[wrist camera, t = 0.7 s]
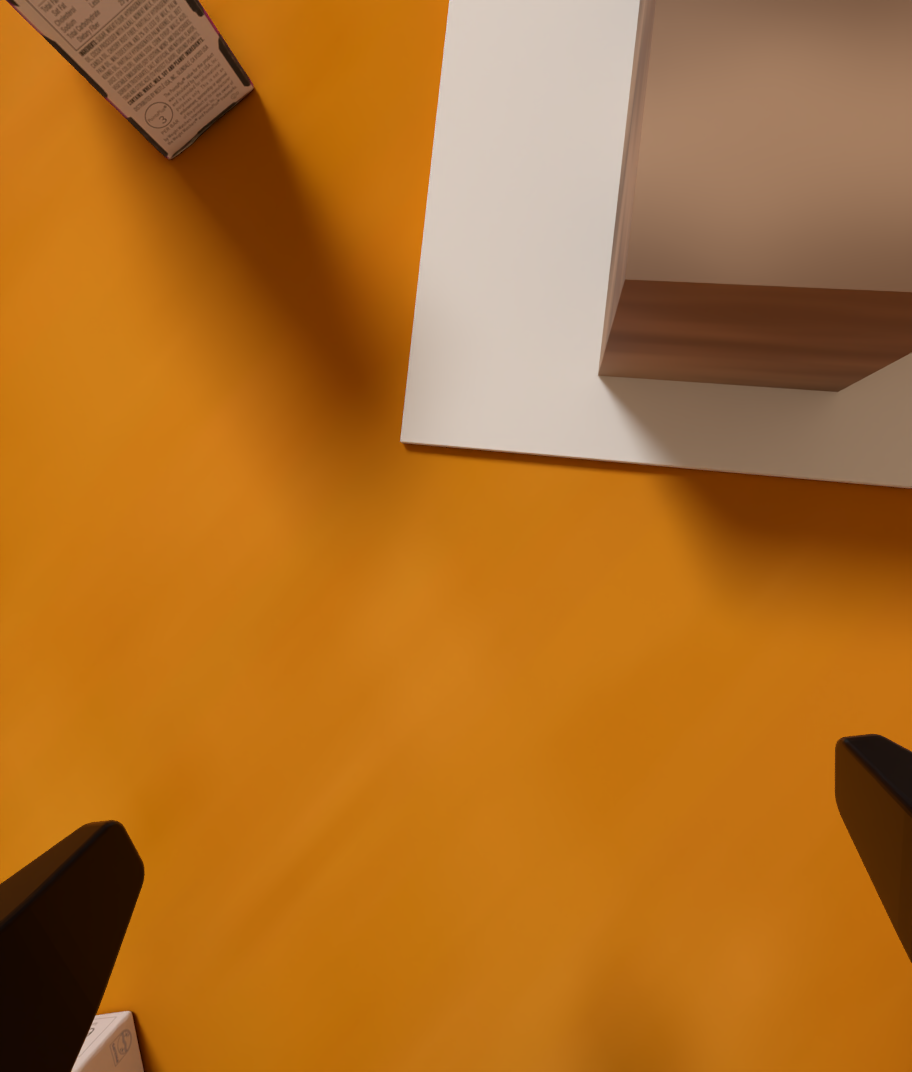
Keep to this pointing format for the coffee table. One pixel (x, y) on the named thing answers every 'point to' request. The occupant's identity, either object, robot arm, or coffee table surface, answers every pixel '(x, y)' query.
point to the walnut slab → (764, 195)
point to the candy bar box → (147, 61)
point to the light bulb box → (110, 1045)
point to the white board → (582, 277)
